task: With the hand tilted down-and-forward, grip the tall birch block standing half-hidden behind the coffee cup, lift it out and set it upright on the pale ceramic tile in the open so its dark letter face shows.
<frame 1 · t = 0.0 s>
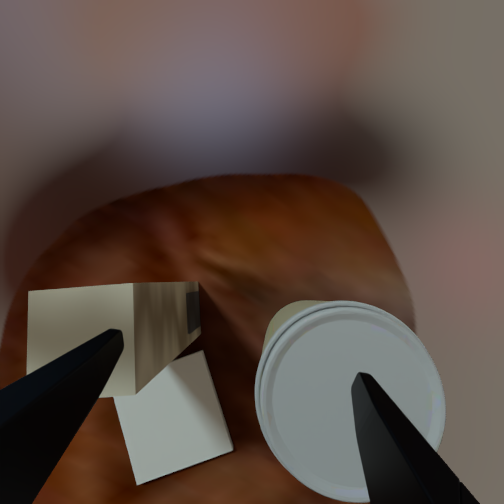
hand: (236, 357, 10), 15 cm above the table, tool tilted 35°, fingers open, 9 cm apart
ceramic tile: (172, 413, 24), on the table
coffee cup: (305, 341, 24), on the table
letter block: (173, 309, 25), on the table
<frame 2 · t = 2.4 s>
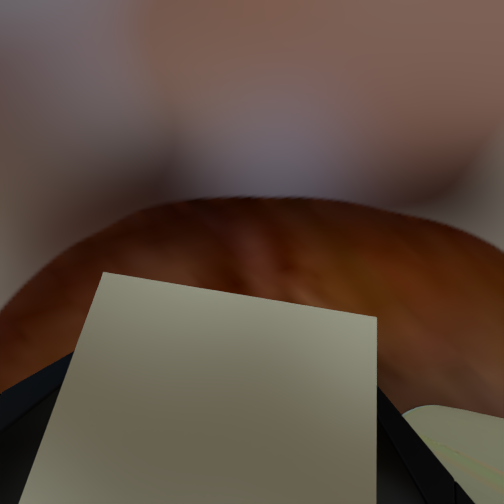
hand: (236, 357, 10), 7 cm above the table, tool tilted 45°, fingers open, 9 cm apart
coffee cup: (443, 480, 14), on the table
letter block: (239, 367, 16), on the table
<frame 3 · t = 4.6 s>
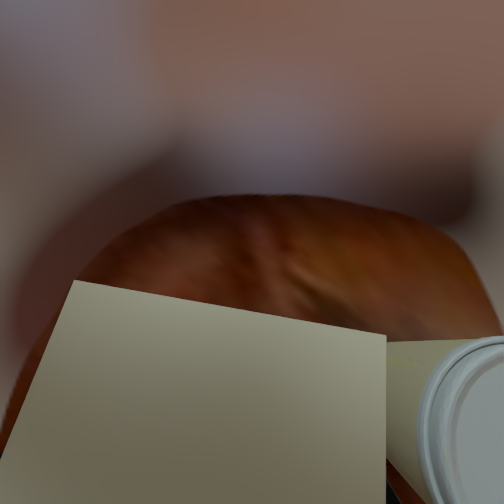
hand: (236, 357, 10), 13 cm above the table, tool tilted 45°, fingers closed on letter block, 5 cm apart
coffee cup: (391, 391, 21), on the table
letter block: (240, 373, 15), point 6 cm above the table, touching gripper
when the fingers open (8 cm above the table, at t = 6.4 s): letter block stays where it is, resting on ceramic tile.
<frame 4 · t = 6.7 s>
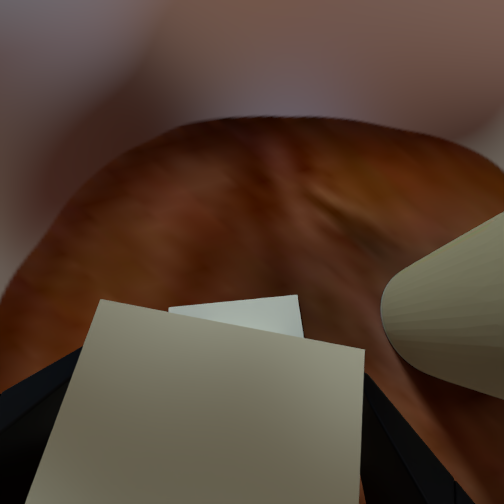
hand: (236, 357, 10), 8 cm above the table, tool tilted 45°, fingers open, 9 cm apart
ceramic tile: (239, 370, 17), on the table
coffee cup: (432, 318, 18), on the table
letter block: (237, 373, 16), point 1 cm above the table, touching ceramic tile
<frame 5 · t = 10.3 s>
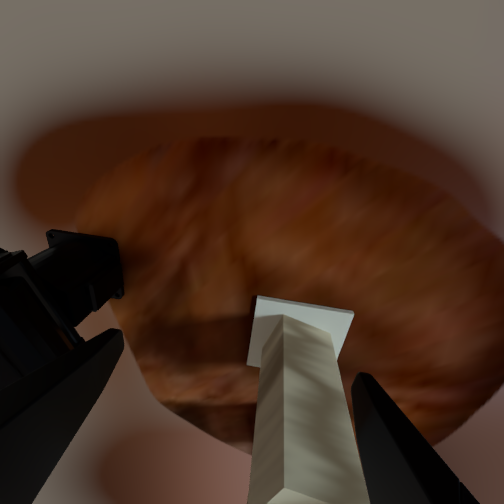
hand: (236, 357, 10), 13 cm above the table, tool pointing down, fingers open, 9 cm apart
ceramic tile: (295, 338, 26), on the table
letter block: (295, 340, 25), resting on ceramic tile
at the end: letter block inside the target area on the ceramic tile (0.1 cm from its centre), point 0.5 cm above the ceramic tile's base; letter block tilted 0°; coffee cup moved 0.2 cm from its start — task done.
